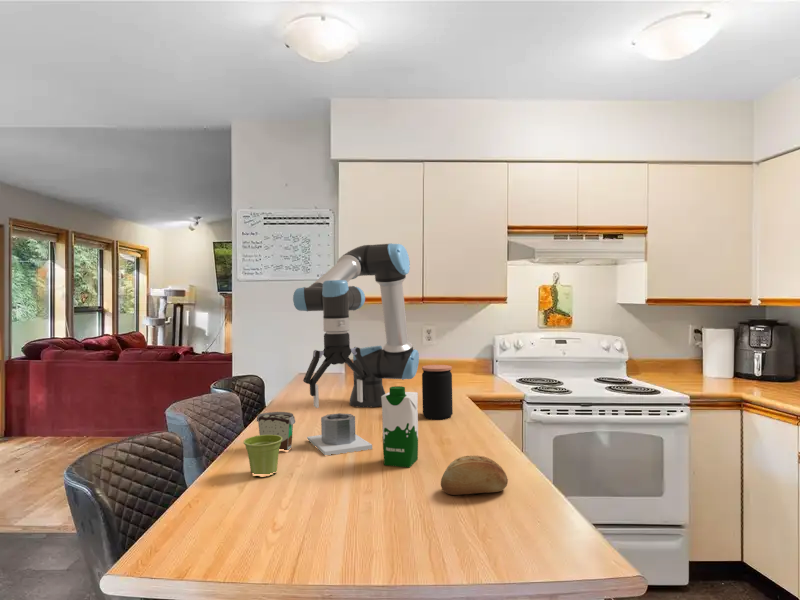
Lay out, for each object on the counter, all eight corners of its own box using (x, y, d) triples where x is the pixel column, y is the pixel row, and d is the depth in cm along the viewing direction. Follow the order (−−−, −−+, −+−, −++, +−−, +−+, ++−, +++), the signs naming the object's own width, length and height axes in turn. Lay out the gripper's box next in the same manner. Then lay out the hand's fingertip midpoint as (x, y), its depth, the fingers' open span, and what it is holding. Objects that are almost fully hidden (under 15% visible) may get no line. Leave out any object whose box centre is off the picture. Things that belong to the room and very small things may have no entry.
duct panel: (307, 440, 163) (306, 417, 163) (350, 434, 169) (350, 412, 169) (325, 456, 147) (324, 430, 147) (372, 449, 153) (371, 423, 153)
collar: (328, 446, 152) (327, 422, 152) (319, 439, 160) (318, 415, 160) (358, 442, 156) (358, 418, 156) (348, 435, 164) (347, 412, 164)
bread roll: (514, 498, 114) (514, 461, 114) (445, 503, 113) (445, 465, 113) (501, 483, 124) (500, 448, 124) (437, 487, 122) (436, 452, 122)
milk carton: (379, 466, 137) (377, 388, 137) (391, 456, 146) (390, 382, 146) (412, 469, 134) (410, 389, 134) (422, 458, 143) (420, 383, 143)
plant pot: (248, 483, 127) (247, 446, 126) (240, 472, 135) (240, 437, 135) (287, 476, 131) (286, 441, 131) (277, 465, 139) (277, 432, 139)
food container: (304, 447, 156) (303, 413, 156) (291, 453, 150) (291, 417, 150) (270, 443, 161) (269, 410, 161) (257, 448, 156) (256, 414, 155)
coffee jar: (452, 413, 197) (451, 364, 196) (452, 420, 186) (451, 368, 186) (423, 413, 198) (422, 364, 197) (421, 420, 187) (421, 368, 187)
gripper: (298, 336, 149) (300, 411, 150) (380, 330, 160) (382, 401, 160) (291, 334, 156) (293, 406, 156) (370, 329, 166) (372, 397, 167)
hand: (338, 404), depth 158 cm, fingers open, 13 cm apart
